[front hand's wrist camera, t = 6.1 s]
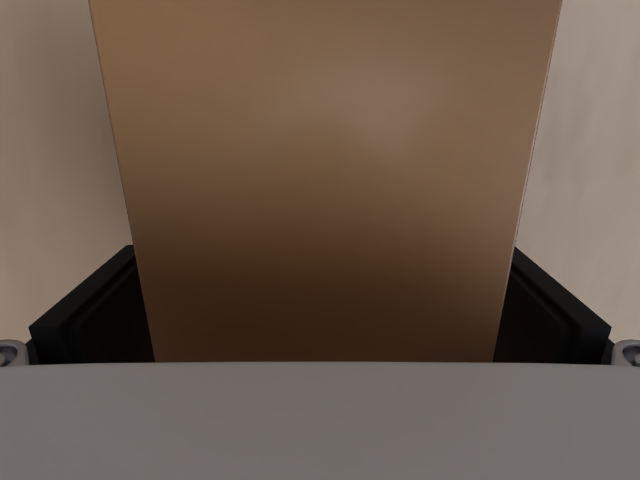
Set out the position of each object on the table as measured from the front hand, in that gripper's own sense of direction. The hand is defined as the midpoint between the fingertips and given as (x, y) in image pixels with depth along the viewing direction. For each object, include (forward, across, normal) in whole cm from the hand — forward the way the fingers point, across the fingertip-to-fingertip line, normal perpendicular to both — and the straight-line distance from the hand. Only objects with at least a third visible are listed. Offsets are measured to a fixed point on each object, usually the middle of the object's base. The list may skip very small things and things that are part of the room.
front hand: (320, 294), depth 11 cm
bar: (+4, 0, +34) cm, 34 cm away
